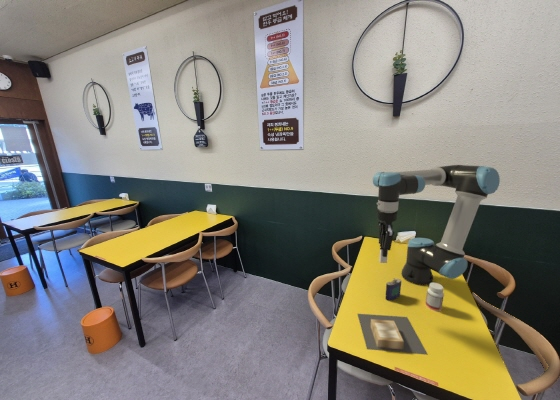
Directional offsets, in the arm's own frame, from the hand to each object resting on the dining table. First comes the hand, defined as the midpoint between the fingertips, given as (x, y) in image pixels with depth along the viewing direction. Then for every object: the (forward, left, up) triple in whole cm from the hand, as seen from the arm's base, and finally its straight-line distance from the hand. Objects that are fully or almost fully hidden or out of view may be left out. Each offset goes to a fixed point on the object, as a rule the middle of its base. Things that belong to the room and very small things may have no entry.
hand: (383, 262), depth 96 cm
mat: (0, +13, -24) cm, 28 cm away
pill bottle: (-25, -4, -25) cm, 35 cm away
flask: (-9, -9, -25) cm, 28 cm away
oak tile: (+2, +11, -22) cm, 25 cm away
